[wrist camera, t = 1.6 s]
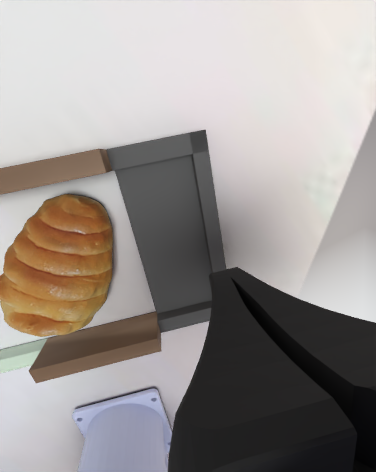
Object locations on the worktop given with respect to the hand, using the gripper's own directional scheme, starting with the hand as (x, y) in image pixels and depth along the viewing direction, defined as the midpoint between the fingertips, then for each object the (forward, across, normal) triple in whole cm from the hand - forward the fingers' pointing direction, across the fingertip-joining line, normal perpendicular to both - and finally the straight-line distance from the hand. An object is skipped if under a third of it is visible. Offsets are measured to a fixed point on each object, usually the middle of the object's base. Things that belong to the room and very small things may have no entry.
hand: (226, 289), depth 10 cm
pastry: (+8, +10, 0) cm, 13 cm away
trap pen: (+7, +2, 0) cm, 8 cm away
